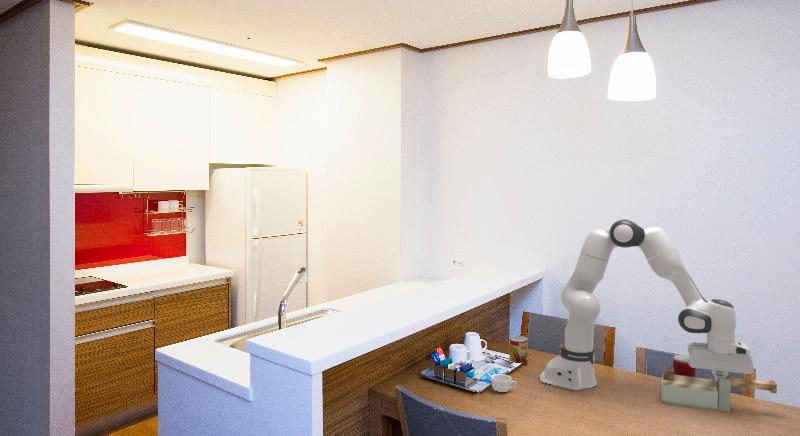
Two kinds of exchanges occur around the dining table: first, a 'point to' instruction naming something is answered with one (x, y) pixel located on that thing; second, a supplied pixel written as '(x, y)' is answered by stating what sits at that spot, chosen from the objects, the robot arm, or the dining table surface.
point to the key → (754, 384)
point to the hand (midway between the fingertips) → (719, 382)
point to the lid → (687, 381)
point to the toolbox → (699, 396)
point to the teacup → (502, 382)
